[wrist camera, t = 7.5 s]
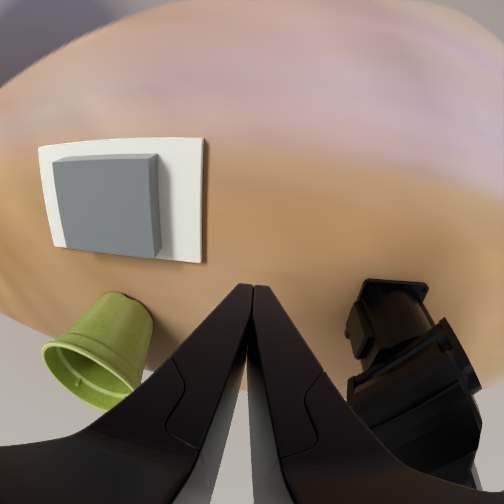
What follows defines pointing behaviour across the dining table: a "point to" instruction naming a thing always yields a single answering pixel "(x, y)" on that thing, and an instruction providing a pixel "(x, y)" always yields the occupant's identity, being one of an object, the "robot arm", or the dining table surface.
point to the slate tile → (110, 203)
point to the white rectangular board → (169, 186)
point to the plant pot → (102, 351)
